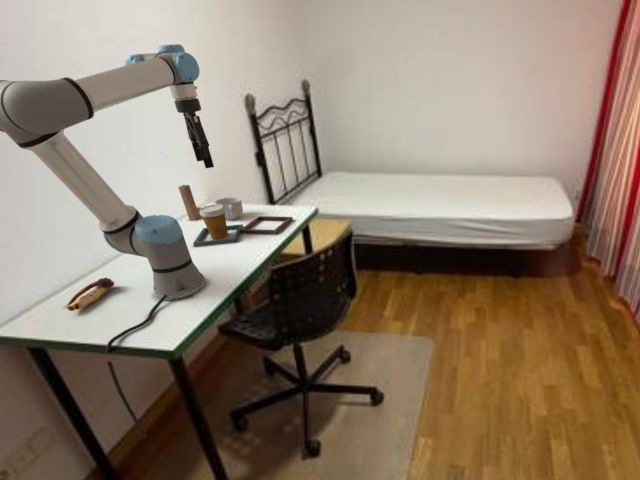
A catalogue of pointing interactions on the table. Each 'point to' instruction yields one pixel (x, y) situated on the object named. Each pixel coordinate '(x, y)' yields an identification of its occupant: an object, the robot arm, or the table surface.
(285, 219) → the right stand
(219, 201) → the teacup
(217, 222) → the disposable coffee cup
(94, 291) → the bone fish hook
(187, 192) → the wooden block
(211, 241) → the left stand
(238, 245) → the table surface
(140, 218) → the robot arm
